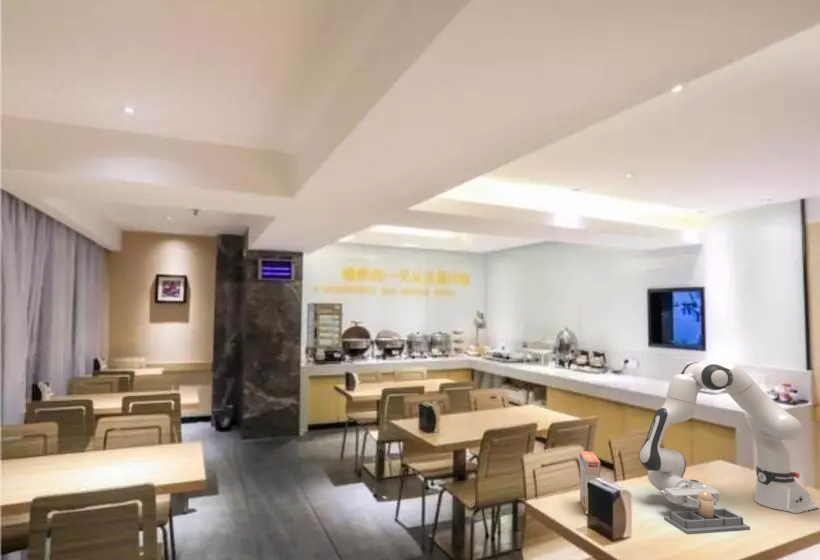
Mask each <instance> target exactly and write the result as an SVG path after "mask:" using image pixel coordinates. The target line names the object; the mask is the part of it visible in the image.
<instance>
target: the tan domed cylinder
mask: <svg viewBox="0 0 820 560" xmlns="http://www.w3.org/2000/svg"><path fill="white" fill-rule="evenodd" d="M697 499H698V500H700V501H701V506H697V510H698V516H700V517H702V518H704V519H714V509H715V507H714V506H715V505H714V499H713V496H712V495H711V494H710V493H709V492H707V491H701V492H699V493H698V495H697Z"/></svg>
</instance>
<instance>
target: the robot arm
mask: <svg viewBox="0 0 820 560" xmlns="http://www.w3.org/2000/svg"><path fill="white" fill-rule="evenodd" d="M702 389H704V390H712V391H721V390H723V389H724V390H725V392H726V393H727V394H728V395H729V397H731V398H732V400H733V401H734V402H735V403H736V404H737V405H738V406H739V408H741V410H743V411H744V412H745V413H744V421H745V423H747V425H748V427H749V429H750V431H751V433H752V437H753V440H754V444H755V447H756V459H757V460H756V461H757V462H756V463H757V466H755V467H756V469H755V471H756V474H755V475H756V477H757V478H756V481H755V491H754V493H753V496H754V497H753V500H754V502H756V503H757V504H759V505H762V506H764V507H767V508H770V509H775V510H780V511H784V512H788V513H792V514H799V513H805V512H809V511H808V510H810V511H812V510H811V509H815V508H819V505H818V504H816V503H815V502H813V501H811V495H810V493H809V491H808V490H807V489H806V488H804V487H803V486H802V485H801V484H799V482H797V481H796V480H795V478H797V479H800V478H801V474H800V473H799V472H795V471H791V454H790V451H789V449H788V448H787V447H786V445H785V443H784V441H795V440H798V439H799V438H800V437H801V436H802V435H803V430H804V429H803V425H802V422H801V421H800V420H799V419H798V418H796V417H795V416H793V415H792V414H790V413H789V412H788V411H787V410H785V409H784V408H783V407H782V406H781V405H780V404H778V403H777V402H776V401H775V400H773V399H772V398H771V397H770V396H769V395H767V393H765V392H764V390H763V389H762V388H761V387H760V386H759V384H758V383H756V381H754V379H752V377H751V376H750V375H749V374H748V373H747V372H746V371H745V370H744V369H743V368H741V367H740V366H739V365H737V364H736V363H734V362H723V363H721V364H720V365H719V364H715V363H710V362H698V361H697V362H696V361H695V362H691V363H688V364H687V365H685V366H684V367H683V370H682V372H680V373H679V374H674V375H673V376H672V378H671V380H670V383H669V386H668V389H667V393H666V397H665V401H664V403H663V405H662V406H661V407H660V408H658V409H657V410H656V411H655V413H654V415H653V418H652V421H651V423H650V427H649V429H648V432H647V435H646V437H645V440H644V443H643V445H642V447H641V449H640V450H639V452H638V459H639V461H640V463H641V465H642V466H643V467H644V468H645V469H646V470H648V472H647V478H648V481H649V482H650V484H651V485H652V486H653V487H654V488H655V489H657V490H659V493H660V495H663V496H664V498H665V499H666V500H668V501H669V502H670V503H672V504H675V505H681V504H691V505H695V506H697V507H698V506H701V501H700V500H698V499H697V495H698V493H699V492H701V491H707V492H709V493H710V494H711V495H712V496H713V499H714V506H716V505H717V503H718V502H720V492H719V491H718V490H717V489H715V488H713V487H711V486H709V485H708V484H705V483H702V481H700V480H698V479H689V478H685V477H684V475H685V472H686V469H687V468H686V467H687V461H686V459H685V457H684V455H683V453H682V452H681V451H679V450H676V449H675V450H674V449H671V448H664V447H661V444H662V441H663V437H664V435H665V433H666V430H667V428H669V426H672V425H674V424H678V423H683V422H686V421H688V420H690V419H692V417H693V416H694V414H695V411H696V404H697V397H698V394H699V392H700V391H701V390H702ZM815 510H816V509H815ZM804 511H805V512H804Z"/></svg>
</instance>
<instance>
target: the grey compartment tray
mask: <svg viewBox="0 0 820 560" xmlns="http://www.w3.org/2000/svg"><path fill="white" fill-rule="evenodd" d="M663 520H664V521H666V522H667V523H669V524H670V525H672V526H674V528H677V529H678V530H680V531H681V532H683V533H685V534H686V535H693V534H708V533H709V534H710V533H721V532H735V531H736V532H738V531H749V530H751V526H749V525H748V524H746V523H745V522H744V518H743V517H742V516H740V515H738V514H736V513H734V512H732V511H731V510H729V509H727V508H714V519H704V518H702V517H700V516H698V509H696V510H695V509H694V510H680V511H679V510H678V511H676V510H675V511H669V516H664V517H663Z"/></svg>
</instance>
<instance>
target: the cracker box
mask: <svg viewBox="0 0 820 560" xmlns="http://www.w3.org/2000/svg"><path fill="white" fill-rule="evenodd" d="M579 461H580V462H579V463H580V464H579V468H580V469H579V471H580V473H579V474H580V476H579V478H580V479H579V480H580V481H579V484H580V485H579V487H580V488H579V493H580V494H579V496H580V497H579V498H580V499H579V501H581V502H580V504H581V507H582V506H583V507H582V509H583V508H584V509H583V512H584V513H586V511H587V483H588V481H590V480H592V479H595V478H600V479H601V461H600V459H599V458H598V456H597V455H596V453H595V452H594V451H585V450H584V451H583V450H580V452H579Z"/></svg>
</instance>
